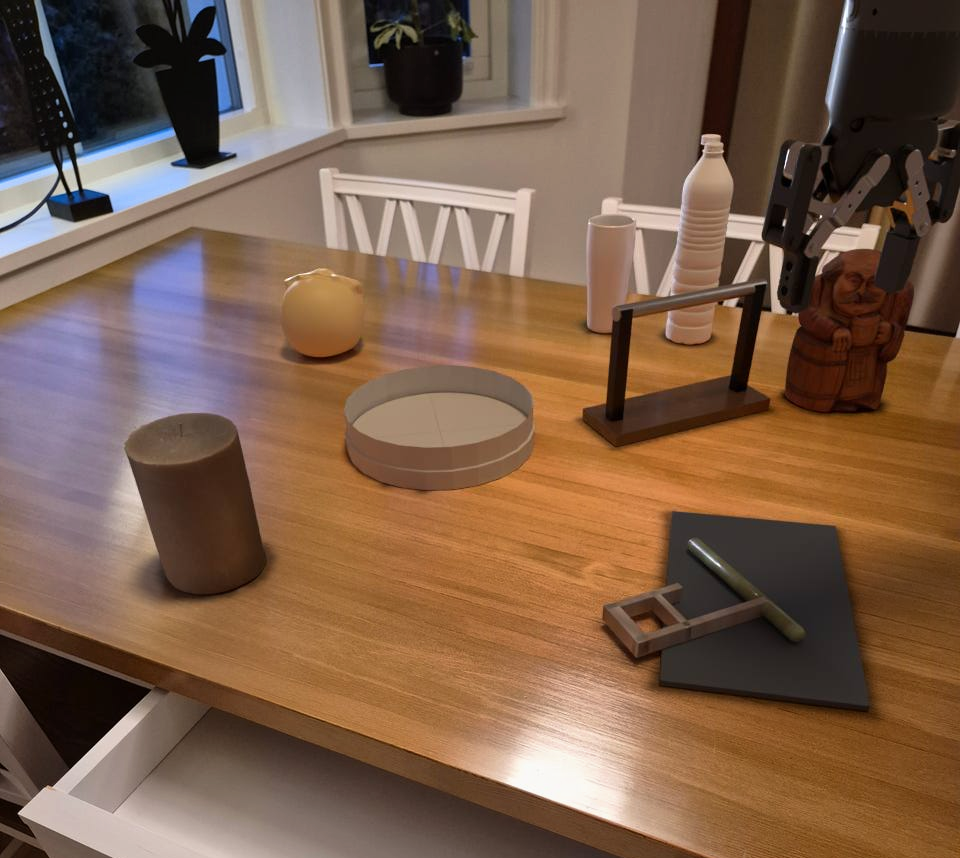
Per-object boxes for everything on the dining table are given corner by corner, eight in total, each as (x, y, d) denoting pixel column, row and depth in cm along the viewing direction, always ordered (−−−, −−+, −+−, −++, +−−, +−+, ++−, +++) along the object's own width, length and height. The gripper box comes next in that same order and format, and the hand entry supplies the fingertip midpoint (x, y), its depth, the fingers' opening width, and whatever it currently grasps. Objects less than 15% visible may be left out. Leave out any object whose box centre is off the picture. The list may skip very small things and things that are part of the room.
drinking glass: (576, 333, 128) (581, 224, 118) (588, 317, 132) (595, 212, 123) (620, 338, 126) (630, 228, 116) (632, 322, 130) (642, 215, 121)
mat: (671, 515, 89) (672, 510, 88) (834, 530, 86) (835, 525, 86) (658, 685, 69) (659, 680, 69) (868, 711, 67) (870, 706, 66)
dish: (351, 499, 92) (345, 457, 89) (343, 410, 109) (338, 372, 106) (553, 479, 95) (554, 438, 92) (515, 395, 111) (515, 358, 108)
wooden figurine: (789, 412, 106) (823, 259, 95) (778, 391, 111) (810, 242, 99) (887, 413, 105) (934, 259, 94) (872, 391, 110) (915, 242, 99)
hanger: (811, 629, 71) (668, 677, 67) (806, 643, 72) (666, 692, 68) (698, 532, 82) (570, 568, 78) (695, 546, 83) (569, 583, 79)
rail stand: (768, 409, 107) (794, 287, 97) (616, 447, 100) (627, 319, 91) (729, 385, 113) (749, 267, 103) (582, 419, 106) (589, 296, 96)
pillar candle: (282, 543, 86) (253, 402, 76) (240, 602, 79) (203, 454, 69) (193, 533, 88) (154, 394, 78) (144, 589, 81) (95, 443, 71)
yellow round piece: (376, 335, 129) (368, 259, 122) (353, 367, 120) (343, 287, 113) (303, 332, 130) (291, 257, 123) (275, 363, 121) (260, 284, 114)
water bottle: (712, 345, 123) (743, 147, 107) (666, 344, 124) (690, 147, 108) (707, 323, 130) (735, 133, 113) (663, 322, 130) (685, 134, 114)
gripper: (860, 33, 46) (795, 335, 56) (1051, 14, 50) (958, 299, 60) (768, 22, 51) (725, 300, 61) (949, 5, 55) (879, 269, 66)
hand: (841, 299), depth 61 cm, fingers open, 8 cm apart
